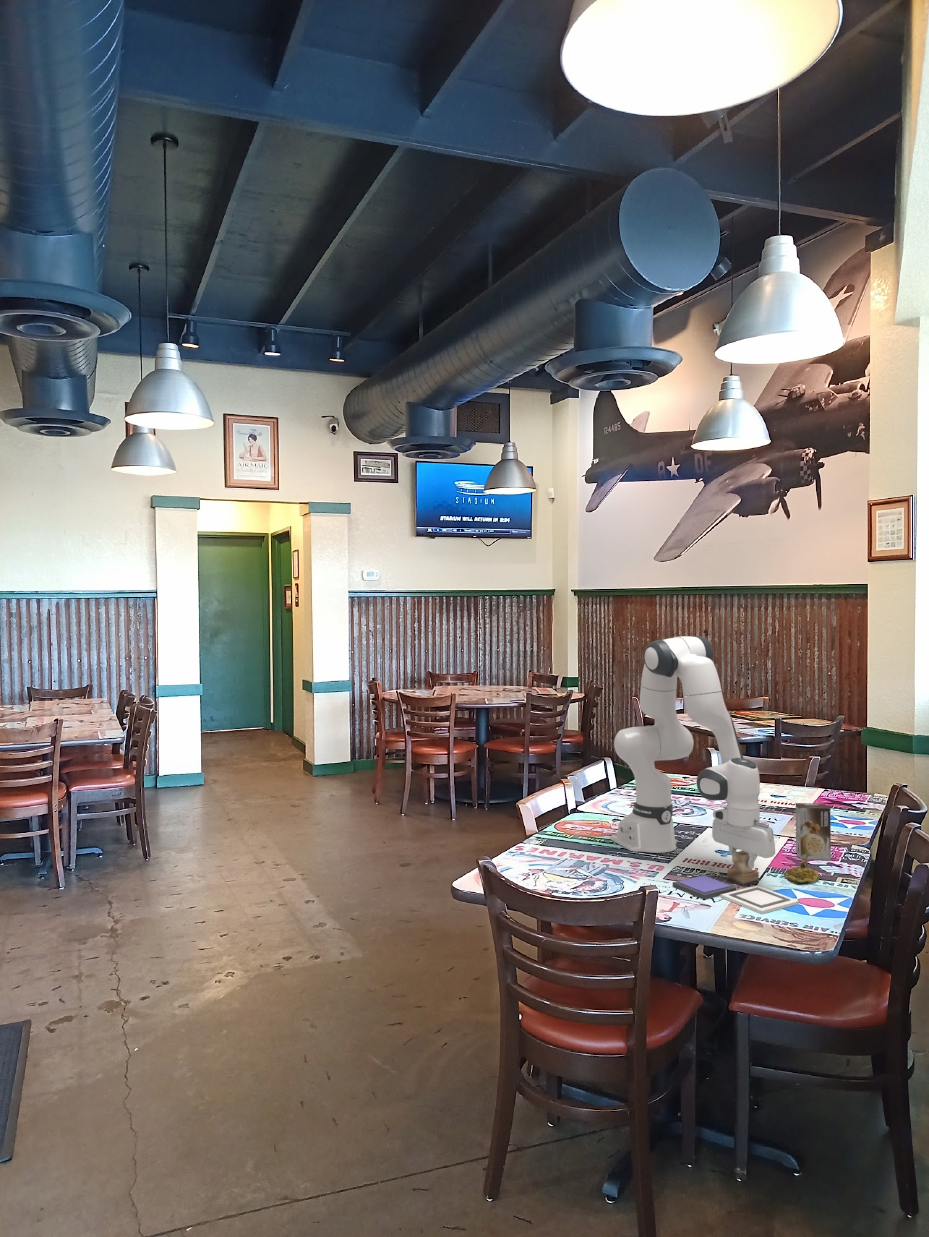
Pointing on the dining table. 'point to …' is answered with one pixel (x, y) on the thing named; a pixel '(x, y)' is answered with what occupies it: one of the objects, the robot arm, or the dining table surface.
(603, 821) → the dining table surface
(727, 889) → the ink pad
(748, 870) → the stamp
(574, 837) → the dining table surface
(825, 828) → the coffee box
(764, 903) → the board
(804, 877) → the seal
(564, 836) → the dining table surface
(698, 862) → the dining table surface
